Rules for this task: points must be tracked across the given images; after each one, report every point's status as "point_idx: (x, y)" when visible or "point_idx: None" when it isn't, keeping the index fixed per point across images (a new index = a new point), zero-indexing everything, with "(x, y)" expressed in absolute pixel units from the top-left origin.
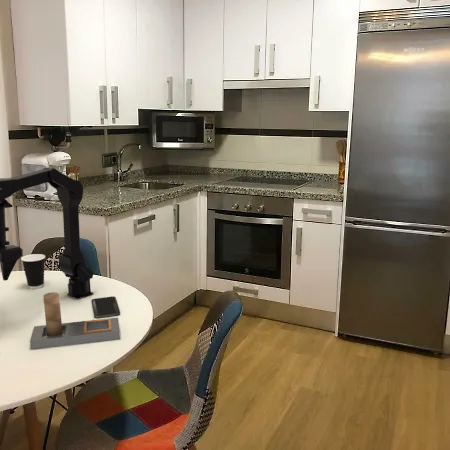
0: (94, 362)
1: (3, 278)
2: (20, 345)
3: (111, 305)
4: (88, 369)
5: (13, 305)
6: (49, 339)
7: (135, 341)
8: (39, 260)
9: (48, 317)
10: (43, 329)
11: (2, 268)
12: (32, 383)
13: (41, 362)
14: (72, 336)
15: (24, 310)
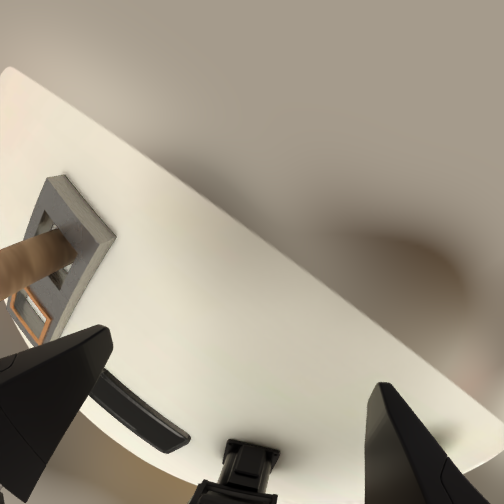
0: None
1: (88, 330)
2: (95, 171)
3: (128, 420)
4: None
5: (376, 360)
6: (33, 214)
7: (6, 304)
8: None
9: (8, 246)
10: (70, 243)
11: (5, 363)
12: (3, 112)
13: (24, 158)
14: None
15: (306, 350)
